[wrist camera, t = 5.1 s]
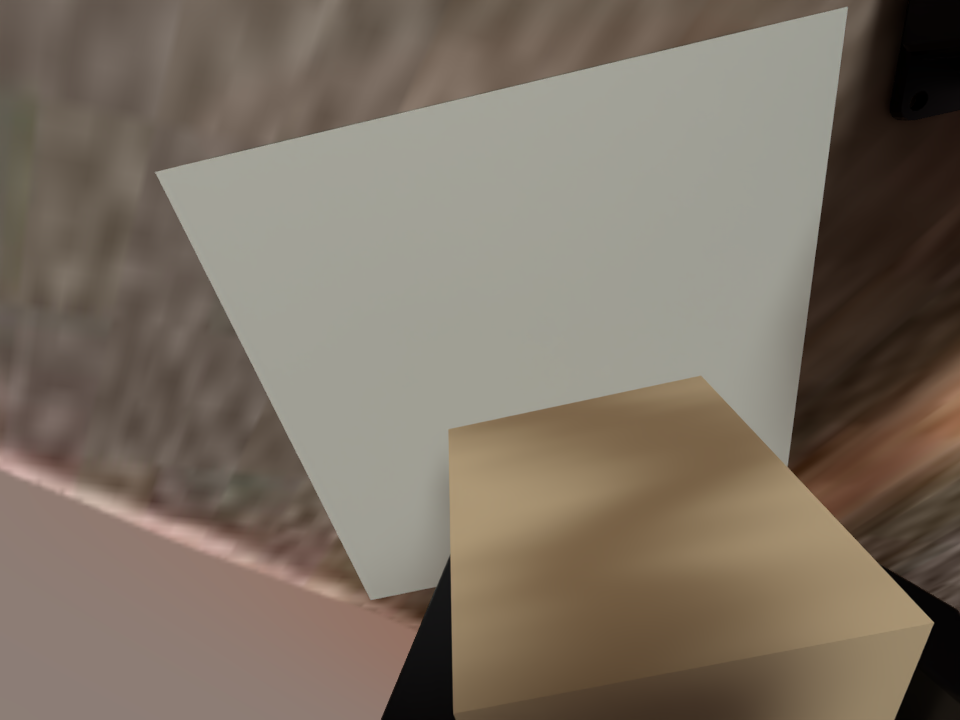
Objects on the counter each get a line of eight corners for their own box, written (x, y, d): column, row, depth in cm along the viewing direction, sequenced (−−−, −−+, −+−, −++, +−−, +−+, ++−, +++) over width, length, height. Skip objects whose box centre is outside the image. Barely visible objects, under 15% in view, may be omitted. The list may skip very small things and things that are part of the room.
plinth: (767, 25, 13) (847, 6, 11) (737, 464, 21) (781, 517, 18) (209, 158, 14) (155, 171, 11) (379, 538, 21) (370, 600, 19)
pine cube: (701, 375, 9) (933, 622, 5) (698, 549, 12) (853, 820, 7) (448, 429, 9) (453, 713, 5) (496, 589, 12) (528, 877, 7)
